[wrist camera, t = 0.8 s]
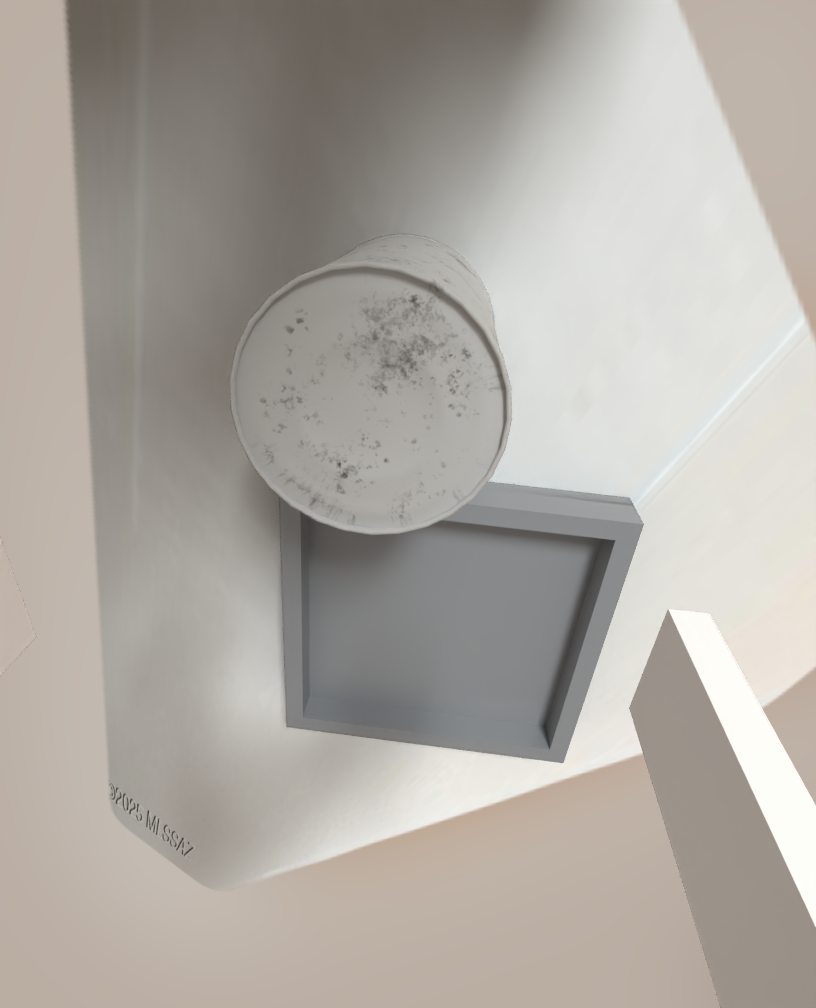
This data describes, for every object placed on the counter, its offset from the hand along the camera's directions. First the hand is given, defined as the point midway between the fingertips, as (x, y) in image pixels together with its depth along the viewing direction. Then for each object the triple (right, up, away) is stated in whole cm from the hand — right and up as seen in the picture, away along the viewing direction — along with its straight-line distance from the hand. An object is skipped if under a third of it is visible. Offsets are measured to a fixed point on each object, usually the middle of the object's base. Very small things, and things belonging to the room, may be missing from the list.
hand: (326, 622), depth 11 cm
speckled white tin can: (+1, +11, +18) cm, 22 cm away
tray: (+4, -5, +27) cm, 28 cm away
